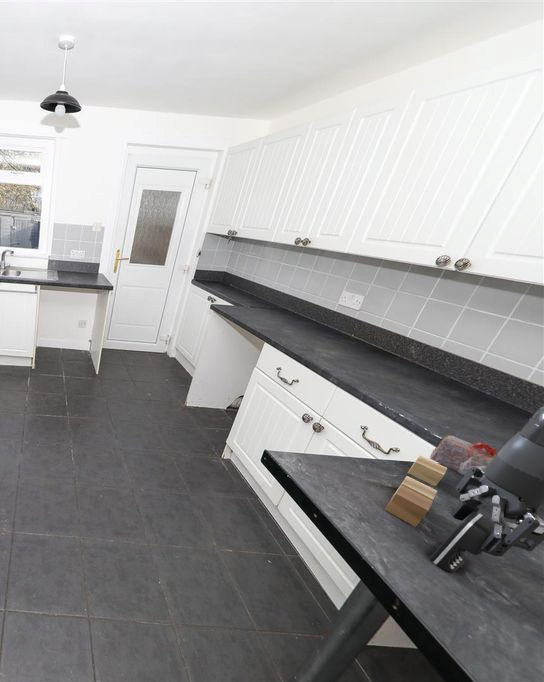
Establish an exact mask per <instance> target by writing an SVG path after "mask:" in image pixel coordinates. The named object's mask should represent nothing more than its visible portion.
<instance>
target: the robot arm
mask: <svg viewBox="0 0 544 682" xmlns="http://www.w3.org/2000/svg"><path fill="white" fill-rule="evenodd" d="M469 486H472V487H471V488H468V487H469ZM455 492H456V493H459V494H460V495H459V502H458V503H457V504H456V506H455V507H454V508H453V510H452V512H451V513H450V516H452V518H453V519H454V520H457V521H460V522H462V521H463V520H464V519H465V518H466V517H467V516H469V515H470V514H471V513H472V512H476V513H479V511H480V507H484V506H486V507H488V509H489V511H490V512H491V518H490V520H491V521H493V522H494V523H495V526H494V533H493V534H491V535H490V536H489V537H488V538H487V539H486V540H485V541H484V542H483V543H482V544H481V545H480V549H481V550H482V551H483V552H482V553H485V554H488V555H491V556H494V557H503V556H504V555H505V554H506V553H507V552H508V551H509V550H510V549H511V548H512V547H515V548H517V549H521V550H525V551H527V552H532V551H533V550H535V549H536V548H537V547H538V546H539V545H541V544H542V543H543V542H544V520H543V519H541V517H540V516H539V510H540V508H541V507H543V506H544V405H543V406H541V407H540V408H538V409H536V410H535V412H533V414H532V415H531V416H530V418H529V419H528V420H527V421H526V422H525V423H524V424H523V426H522V427H521V428H520V430H518V431H517V433H515V435H513V436H511V438H510V439H508V440H507V441H506V442H505V444H504V445H503V446H502V447H501V448H500V449H499V451H497V454H496V456H495V457H494V458H493V459H492V460H491V462H490V463H489V464H488V465H487V466H486V467H485V469H484V470H483V469H479V468H475V467H471V468H470V469H469V470H468V472H467V473H466V474H465V476H464V475H463V477H462V478H461V479H460V481H459V482H458V483H457V484H456V486H455ZM505 519H508V520H512V521H515V522H514V523H512V522H509V521H506V520H505ZM507 527H508V528H509V529H510V532H509V533H506V530H507V529H506V528H507ZM522 539H524V540H522Z"/></svg>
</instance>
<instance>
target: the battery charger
mask: <svg viewBox="0 0 544 682" xmlns="http://www.w3.org/2000/svg"><path fill="white" fill-rule="evenodd" d="M494 526H495V523H494V522H493V521H492V520H491V519H489V518H487V517H486V516H484V514H481V513H479V512H477V513H476V512H472V513H471V514H470V515H469V516H467V517H466V518H465V519H464V520H463V521H460V523H459V524H458V525H457V526H456V527H455V528H454V530H452V532H451V533H450V534H449V535H448V536H447V537H446V538H445V540H444V541H443V542H441V544H440V546H439V547H437V548H436V550H435V551H434V552H433V554H432V555H430V557H429V560H430V561H431V562H432V563H433V564H434V565H436V566H438V567H440V568H441V569H442V570H444V571H446V572H448V573H451V574H453V573H456V572H457V571H458V569H460V568H461V567H462V566H463V565H464V564H465V561H464V559H463V555H462V553H466V552H468V553H470V554H471V555H474V556H479V555H481V554H483V553H484V552H483V551H482V550H481V549H480V545H481V544H482V543H483V542H484V541H485V540H486V539H487V538H488V537H489V536H490V535H491V534H493V533H494Z"/></svg>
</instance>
